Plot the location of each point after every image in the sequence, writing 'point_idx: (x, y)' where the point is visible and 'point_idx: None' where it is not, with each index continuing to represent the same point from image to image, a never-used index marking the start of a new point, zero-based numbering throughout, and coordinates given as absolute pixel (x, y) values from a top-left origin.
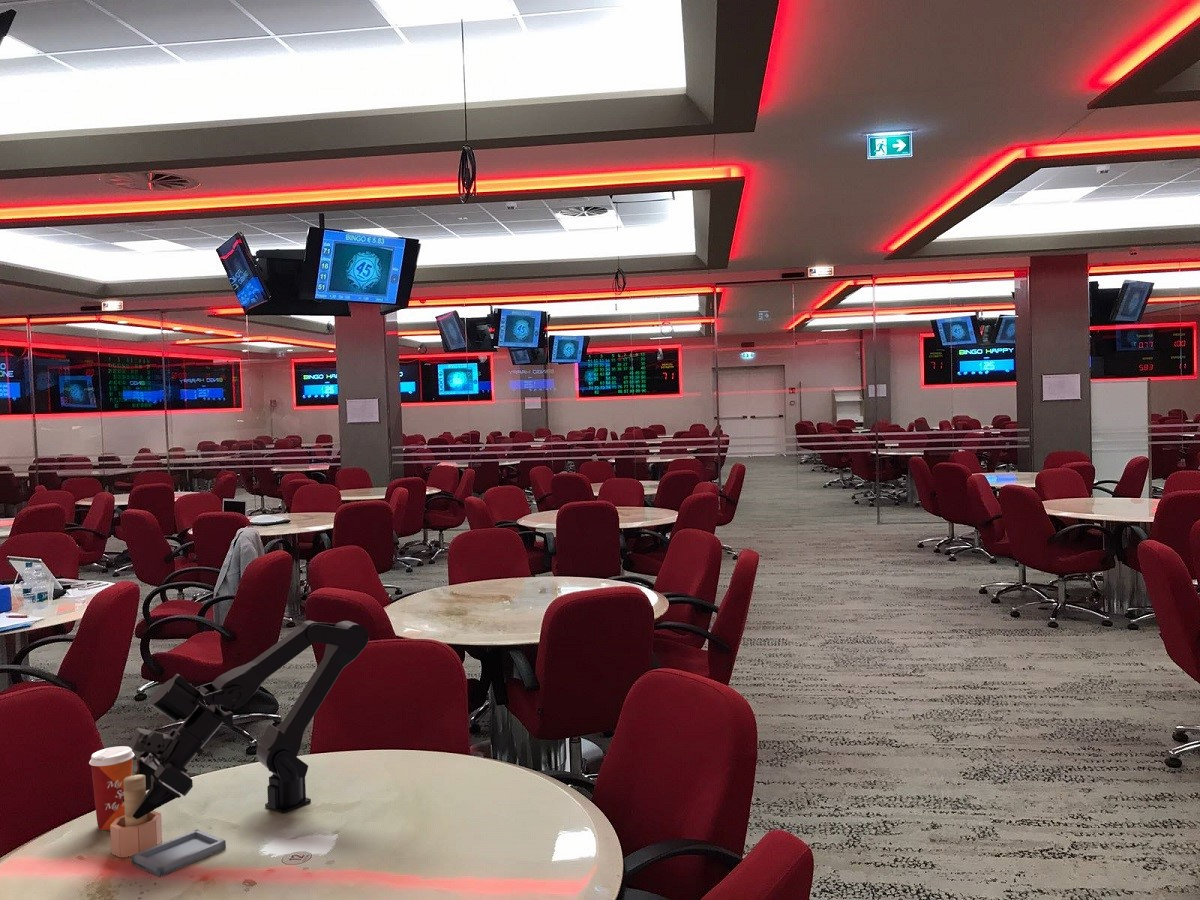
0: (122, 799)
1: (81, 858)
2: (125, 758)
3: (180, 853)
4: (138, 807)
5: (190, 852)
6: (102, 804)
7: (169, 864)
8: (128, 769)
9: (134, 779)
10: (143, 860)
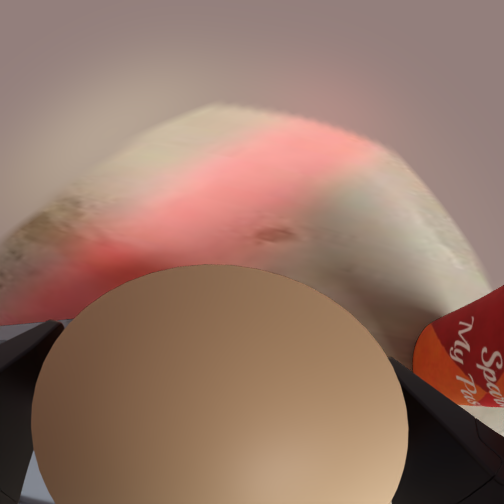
0: (390, 357)
1: (266, 233)
2: None
3: None
4: (13, 341)
5: None
6: (476, 308)
7: None
8: None
9: (140, 444)
10: (23, 325)
